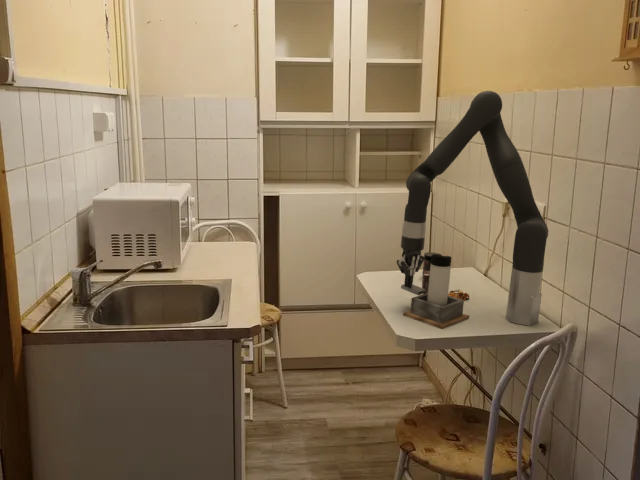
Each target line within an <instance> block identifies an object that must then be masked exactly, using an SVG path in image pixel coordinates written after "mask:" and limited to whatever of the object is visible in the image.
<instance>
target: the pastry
mask: <svg viewBox="0 0 640 480" xmlns="http://www.w3.org/2000/svg"><path fill="white" fill-rule="evenodd" d="M448 296H451V297H454V298H457V299H461V300H464V302H466V299H470V295H469V293H467V292H464V291H463V290H461V289H454V290H450V291H449V292H448Z"/></svg>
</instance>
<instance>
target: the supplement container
mask: <svg viewBox="0 0 640 480" xmlns="http://www.w3.org/2000/svg"><path fill="white" fill-rule="evenodd" d="M432 254H439V255H441V256H443V255H442V254H441V253H438V252H431V251H430V252H424V253H423V256H424V257H425V259H424V261H423V263H422V274H421V279H422V280H423V271H430V266H431V258H432Z"/></svg>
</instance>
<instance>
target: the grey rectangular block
mask: <svg viewBox="0 0 640 480" xmlns="http://www.w3.org/2000/svg"><path fill="white" fill-rule="evenodd" d="M400 289H401V290H404V291H406V292H409V293H411V294H414V295H417V296H419V295H422V294H424V293H425V291H426V290H425V289H423V288H422V287H420V286H418V285H415V284H413V285H411V286H407V285H405V283H403V284H401V287H400Z"/></svg>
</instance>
